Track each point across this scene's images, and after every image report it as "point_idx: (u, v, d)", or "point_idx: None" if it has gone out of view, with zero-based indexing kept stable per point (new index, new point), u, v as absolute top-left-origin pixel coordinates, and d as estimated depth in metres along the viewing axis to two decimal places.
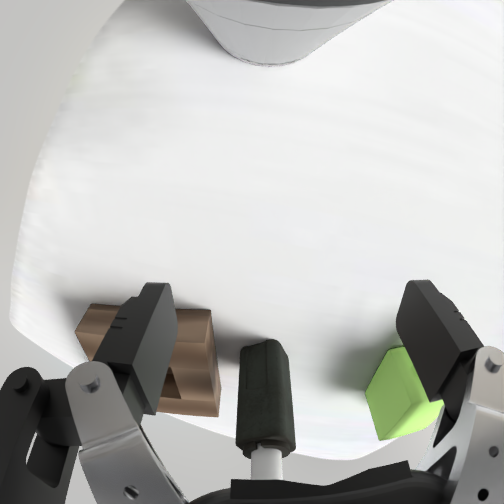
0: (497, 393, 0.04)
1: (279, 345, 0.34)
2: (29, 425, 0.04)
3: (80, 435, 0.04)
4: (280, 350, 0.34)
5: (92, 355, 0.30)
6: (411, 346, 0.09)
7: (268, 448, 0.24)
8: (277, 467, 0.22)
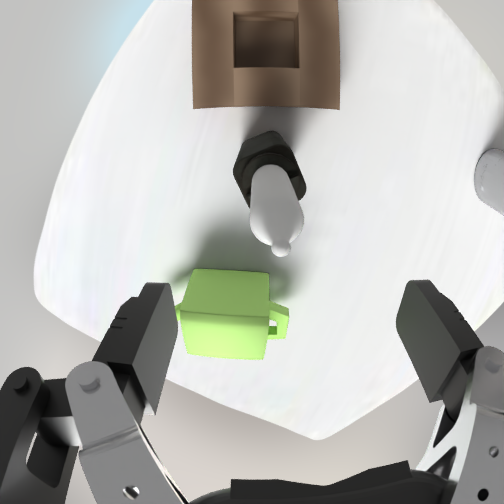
0: (497, 393, 0.04)
1: None
2: (29, 425, 0.04)
3: (80, 435, 0.04)
4: None
5: None
6: (411, 346, 0.09)
7: None
8: None
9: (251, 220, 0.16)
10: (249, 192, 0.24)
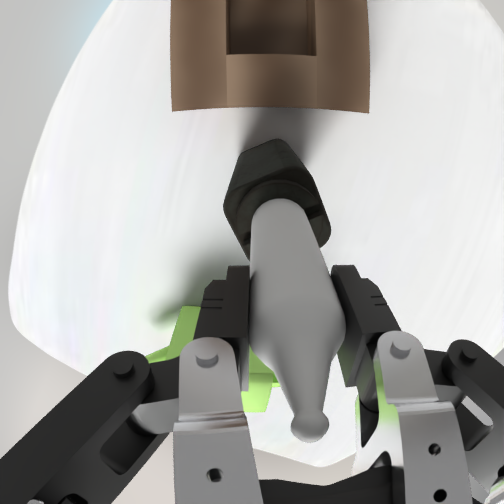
0: (415, 381, 0.05)
1: None
2: (119, 415, 0.05)
3: (181, 406, 0.05)
4: None
5: None
6: None
7: None
8: None
9: (250, 337, 0.08)
10: (248, 237, 0.17)
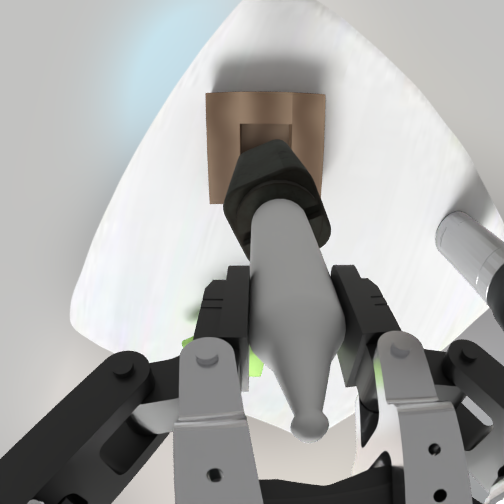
0: (415, 381, 0.05)
1: None
2: (119, 415, 0.05)
3: (180, 406, 0.05)
4: None
5: (295, 99, 0.34)
6: None
7: None
8: None
9: (250, 338, 0.08)
10: (248, 237, 0.17)
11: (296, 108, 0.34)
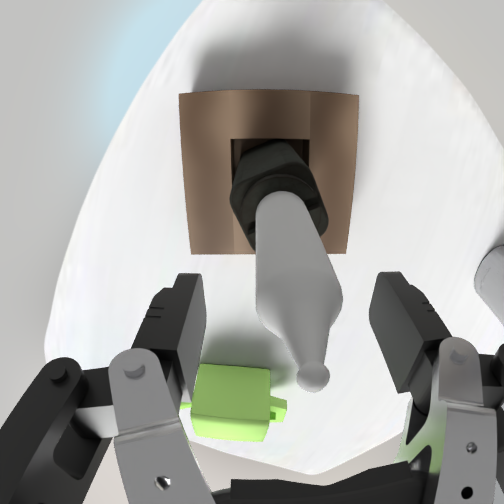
0: (467, 385, 0.05)
1: None
2: (62, 418, 0.05)
3: (118, 421, 0.05)
4: None
5: (315, 102, 0.22)
6: (381, 337, 0.09)
7: None
8: None
9: (259, 306, 0.10)
10: (251, 227, 0.18)
11: (316, 115, 0.23)
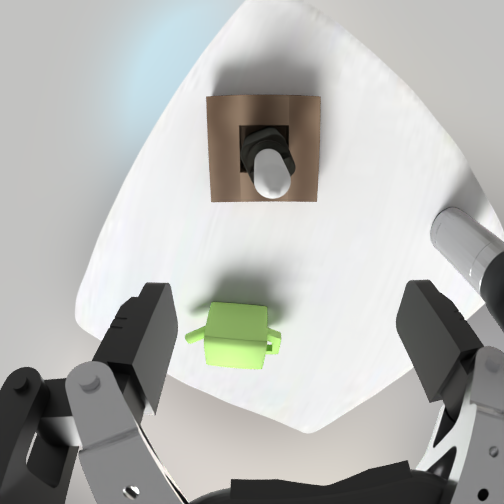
0: (496, 393, 0.04)
1: None
2: (29, 425, 0.04)
3: (80, 435, 0.04)
4: None
5: (292, 101, 0.36)
6: (411, 346, 0.09)
7: None
8: None
9: (255, 180, 0.23)
10: (252, 170, 0.32)
11: (293, 110, 0.36)
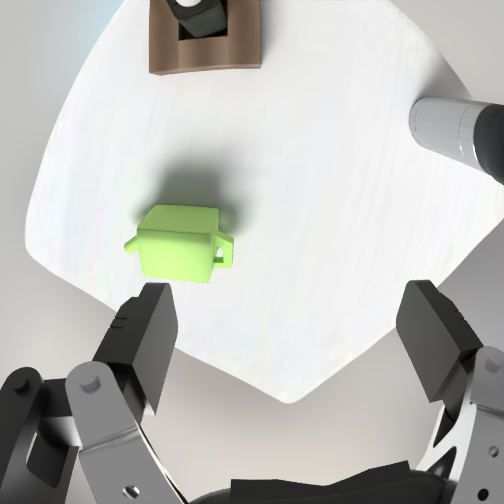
0: (497, 394, 0.04)
1: (225, 32, 0.34)
2: (29, 425, 0.04)
3: (81, 435, 0.04)
4: (223, 31, 0.33)
5: None
6: (411, 346, 0.09)
7: None
8: None
9: None
10: None
11: None
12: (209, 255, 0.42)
